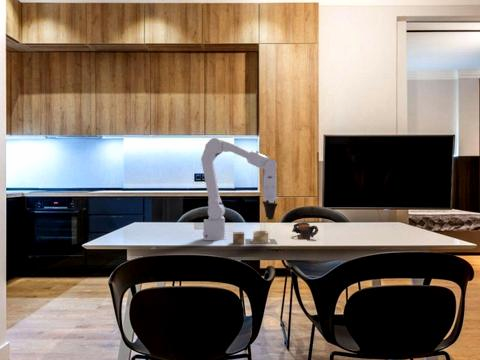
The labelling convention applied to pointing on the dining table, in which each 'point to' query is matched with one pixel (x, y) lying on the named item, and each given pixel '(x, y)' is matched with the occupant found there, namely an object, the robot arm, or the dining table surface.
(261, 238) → the oak block
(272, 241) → the mat
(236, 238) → the walnut block
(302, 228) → the pottery mug
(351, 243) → the dining table surface
